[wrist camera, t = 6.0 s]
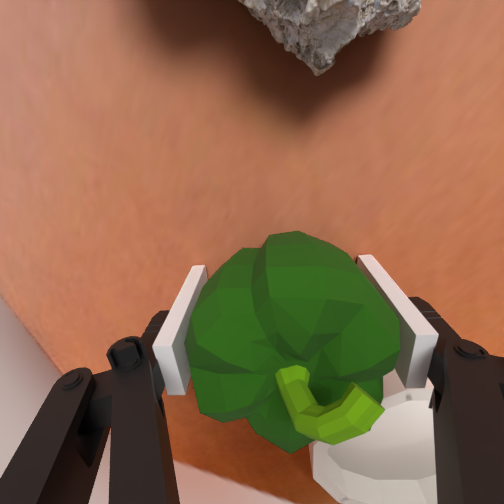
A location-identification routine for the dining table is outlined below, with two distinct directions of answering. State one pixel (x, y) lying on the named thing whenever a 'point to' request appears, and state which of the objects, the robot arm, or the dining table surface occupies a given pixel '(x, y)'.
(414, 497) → the dish
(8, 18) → the dining table surface
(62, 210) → the dining table surface
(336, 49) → the mineral specimen
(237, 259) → the bell pepper
